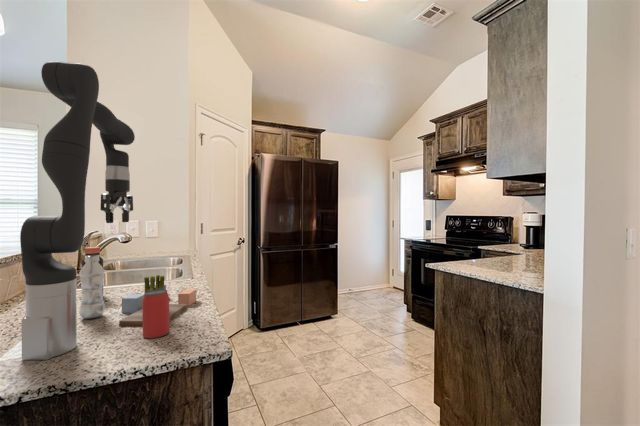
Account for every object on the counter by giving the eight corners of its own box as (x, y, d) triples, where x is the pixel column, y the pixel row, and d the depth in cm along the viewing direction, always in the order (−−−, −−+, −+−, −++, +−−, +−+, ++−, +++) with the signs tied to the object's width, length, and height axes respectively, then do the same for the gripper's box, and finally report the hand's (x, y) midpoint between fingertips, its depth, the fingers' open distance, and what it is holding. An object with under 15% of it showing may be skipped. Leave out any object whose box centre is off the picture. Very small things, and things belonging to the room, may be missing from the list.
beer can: (150, 341, 78) (150, 296, 78) (137, 335, 82) (137, 292, 82) (174, 332, 84) (174, 290, 84) (161, 327, 87) (161, 287, 87)
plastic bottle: (91, 321, 92) (91, 257, 92) (73, 320, 93) (73, 256, 93) (110, 314, 98) (109, 254, 98) (93, 313, 100) (93, 254, 100)
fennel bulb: (142, 313, 95) (142, 276, 95) (153, 308, 100) (153, 273, 100) (157, 315, 94) (157, 277, 94) (168, 310, 98) (168, 274, 98)
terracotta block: (189, 306, 108) (189, 293, 108) (178, 306, 108) (178, 293, 108) (196, 301, 114) (196, 289, 114) (185, 301, 114) (185, 289, 114)
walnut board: (162, 325, 89) (162, 320, 89) (119, 325, 89) (119, 320, 89) (186, 308, 105) (186, 304, 105) (150, 308, 105) (150, 304, 105)
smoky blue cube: (136, 313, 100) (136, 298, 100) (121, 313, 100) (121, 298, 100) (145, 308, 105) (145, 294, 105) (131, 308, 105) (131, 294, 105)
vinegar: (106, 296, 119) (106, 247, 119) (86, 301, 113) (85, 249, 113) (98, 294, 123) (98, 246, 123) (78, 298, 117) (78, 247, 117)
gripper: (114, 177, 103) (114, 223, 104) (139, 181, 118) (139, 221, 118) (92, 177, 104) (93, 223, 104) (120, 181, 118) (120, 221, 118)
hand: (117, 222), depth 111 cm, fingers open, 8 cm apart
